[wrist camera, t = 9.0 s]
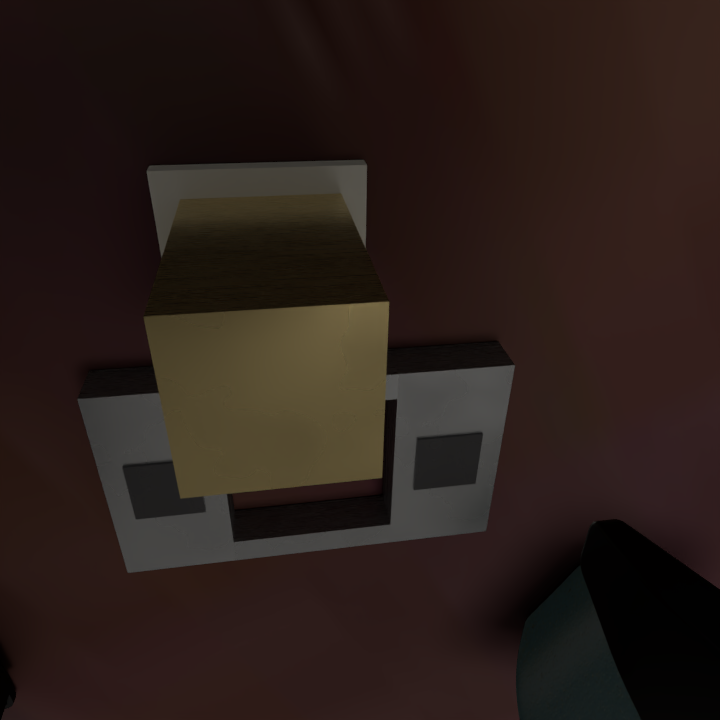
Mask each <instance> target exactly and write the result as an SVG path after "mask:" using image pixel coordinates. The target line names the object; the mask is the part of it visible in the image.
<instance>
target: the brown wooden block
mask: <svg viewBox="0 0 720 720" xmlns="http://www.w3.org/2000/svg"><path fill="white" fill-rule="evenodd" d="M143 317H144V322H145V327H146V332H147V337H148V342H149V347H150V352H151V357H152V362H153V366H154V371H155V376H156V381H157V386H158V391H159V396H160V401H161V406H162V411H163V416H164V421H165V425H166V430H167V435H168V440H169V445H170V450H171V455H172V460H173V465H174V470H175V475H176V480H177V484H178V489H179V494H180V499H182V498H191V497H201V496H211V495H221V494H230V493H240V492H250V491H260V490H269V489H279V488H289V487H298V486H308V485H318V484H328V483H337V482H347V481H357V480H367V479H376V478H382V469H383V444H384V419H385V394H386V369H387V344H388V320H389V300H388V298H387V295H386V293H385V291H384V289H383V286H382V284H381V282H380V280H379V277H378V275H377V273H376V271H375V268H374V266H373V264H372V262H371V259H370V257H369V255H368V253H367V250H366V248H365V246H364V243H363V241H362V239H361V237H360V234H359V232H358V230H357V228H356V225H355V223H354V221H353V219H352V216H351V214H350V212H349V210H348V207H347V205H346V203H345V201H344V198H343V196H342V194H341V193H338V194H311V195H283V196H255V197H228V198H200V199H180V201H179V204H178V207H177V211H176V214H175V217H174V220H173V223H172V227H171V230H170V233H169V236H168V239H167V243H166V246H165V249H164V252H163V255H162V259H161V262H160V265H159V268H158V271H157V275H156V278H155V281H154V284H153V287H152V291H151V294H150V297H149V300H148V303H147V307H146V310H145V313H144V316H143Z"/></svg>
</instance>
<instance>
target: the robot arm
mask: <svg viewBox="0 0 720 720" xmlns="http://www.w3.org/2000/svg"><path fill="white" fill-rule="evenodd" d="M580 566H581V571H582V574H583V577H584V580H585V583H586V585H587V588H588V591H589V594H590V596H591V599H592V602H593V605H594V607H595V610H596V613H597V616H598V618H599V621H600V624H601V627H602V630H603V632H604V635H605V638H606V641H607V643H608V646H609V649H610V652H611V654H612V657H613V659H614V662H615V665H616V667H617V670H618V672H619V674H620V676H621V679H622V681H623V683H624V685H625V687H626V689H627V692H628V694H629V696H630V698H631V700H632V702H633V704H634V706H635V708H636V710H637V712H638V714H639V717H640V719H641V720H720V589H718V588H717V587H716V586H714V585H713V584H711V583H710V582H709V581H707V580H706V579H704V578H703V577H701V576H700V575H699V574H697V573H696V572H694V571H693V570H691V569H690V568H689V567H687V566H686V565H684V564H683V563H682V562H680V561H679V560H677V559H676V558H674V557H673V556H672V555H670V554H669V553H667V552H666V551H664V550H663V549H662V548H660V547H659V546H657V545H656V544H655V543H653V542H652V541H650V540H649V539H647V538H646V537H645V536H643V535H642V534H640V533H639V532H637V531H636V530H635V529H633V528H632V527H630V526H629V525H628V524H626V523H625V522H623V521H621V520H617V519H611V520H602V521H596V522H593V523H592V524H591V525H590V528H589V531H588V534H587V537H586V540H585V544H584V547H583V550H582V553H581V558H580ZM15 697H16V692H15V690H14V688H13V686H12V683H11V681H10V679H9V677H8V675H7V673H6V671H5V669H4V667H3V665H2V664H1V662H0V720H1V718H2V715H3V712H4V709H6V708H9V707H11V706H12V705H13V703H14V700H15Z"/></svg>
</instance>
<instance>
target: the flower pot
mask: <svg viewBox="0 0 720 720" xmlns="http://www.w3.org/2000/svg"><path fill="white" fill-rule="evenodd" d="M516 692H517V704H518V712H519V718H520V720H641V719H640V717H639V714H638V712H637V710H636V708H635V706H634V704H633V702H632V700H631V698H630V696H629V694H628V692H627V689H626V687H625V685H624V683H623V681H622V679H621V676H620V674H619V672H618V670H617V667H616V665H615V662H614V659H613V657H612V654H611V652H610V649H609V646H608V643H607V641H606V638H605V635H604V632H603V630H602V627H601V624H600V621H599V618H598V616H597V613H596V610H595V607H594V605H593V602H592V599H591V596H590V594H589V591H588V588H587V585H586V583H585V580H584V577H583V574H582V571H581V566H578V567H577V568H576V569H575V570H574V571H573V572H572V573H571V574H570V575H569V576H568V578H567V579H566V580H565V581H564V582H563V583H562V584H561V585H560V586H559V587H558V588H557V589H556V590H555V591H554V592H553V593H552V594H551V595H550V596H549V597H548V598H547V599H546V600H545V601H544V602H543V603H542V604H541V605H540V606H539V607H538V608H537V609H536V610H535V611H534V612H533V613H532V614H531V615H530V616H529V617H528V618H527V620H526V621H525V625H524V629H523V633H522V637H521V641H520V646H519V652H518V659H517V669H516Z"/></svg>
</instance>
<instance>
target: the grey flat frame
mask: <svg viewBox="0 0 720 720" xmlns="http://www.w3.org/2000/svg"><path fill="white" fill-rule="evenodd" d="M514 368H515V365H514V363H513V362H512V360H511V359H510V357H509V356H508V354H507V353H506V352H505V350H504V349H503V347H502V346H501V344H500V343H499V342H484V343H470V344H456V345H442V346H428V347H414V348H400V349H387V369H386V394H385V400H387V409H386V432H385V455H384V478H383V495H380V496H371V497H361V498H352V499H342V500H333V501H323V502H314V503H304V504H295V505H286V506H276V507H267V508H257V509H248V510H238V511H234V504H233V497H232V493H230V494H221V495H211V496H201V497H191V498H182V499H180V494H179V489H178V484H177V480H176V475H175V470H174V465H173V460H172V455H171V450H170V445H169V440H168V435H167V430H166V425H165V421H164V416H163V411H162V406H161V401H160V396H159V391H158V386H157V381H156V376H155V371H154V366H149V367H136V368H122V369H108V370H94V371H89V372H88V374H87V377H86V379H85V382H84V384H83V387H82V389H81V391H80V394H79V396H78V399H77V400H78V403H79V407H80V410H81V414H82V417H83V420H84V424H85V427H86V431H87V434H88V438H89V441H90V444H91V448H92V451H93V455H94V458H95V462H96V465H97V469H98V472H99V475H100V479H101V482H102V486H103V489H104V493H105V496H106V499H107V503H108V506H109V510H110V513H111V517H112V520H113V523H114V527H115V530H116V534H117V537H118V541H119V544H120V547H121V551H122V554H123V558H124V561H125V565H126V568H127V571H128V573H130V572H139V571H148V570H156V569H165V568H173V567H182V566H190V565H199V564H207V563H216V562H225V561H233V560H242V559H250V558H259V557H267V556H276V555H284V554H293V553H301V552H310V551H319V550H327V549H336V548H344V547H353V546H361V545H370V544H378V543H387V542H395V541H404V540H413V539H421V538H430V537H438V536H447V535H455V534H464V533H472V532H481V531H486V527H487V522H488V516H489V510H490V505H491V499H492V493H493V487H494V482H495V476H496V470H497V465H498V459H499V453H500V448H501V442H502V436H503V430H504V425H505V419H506V413H507V408H508V402H509V396H510V391H511V385H512V379H513V373H514Z"/></svg>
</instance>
